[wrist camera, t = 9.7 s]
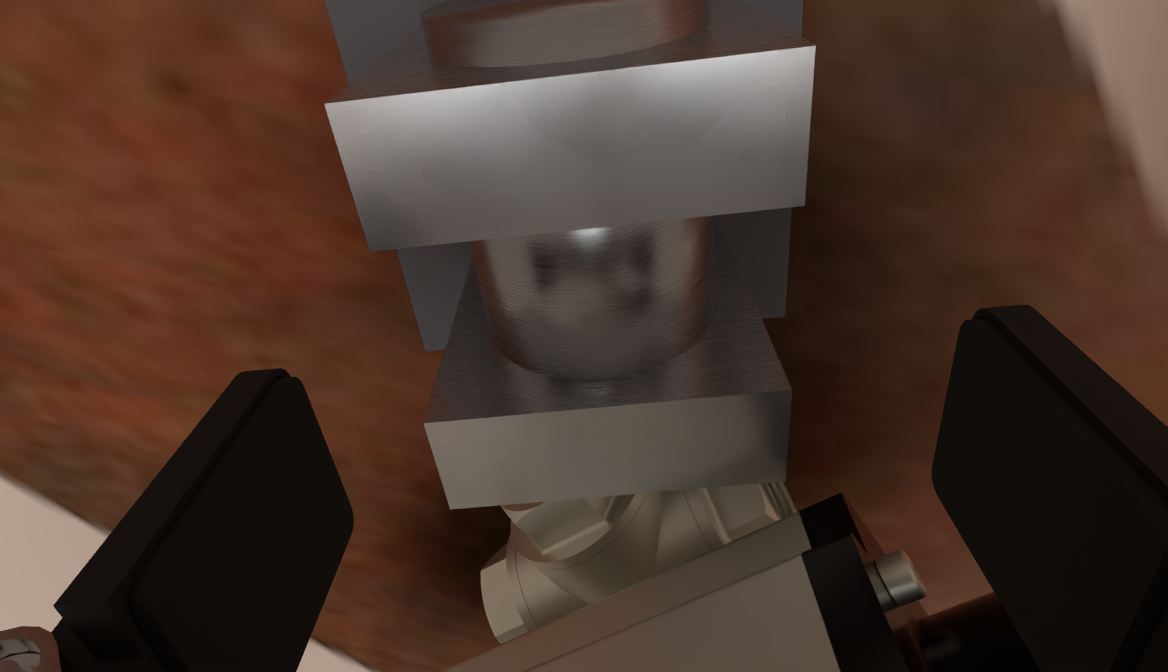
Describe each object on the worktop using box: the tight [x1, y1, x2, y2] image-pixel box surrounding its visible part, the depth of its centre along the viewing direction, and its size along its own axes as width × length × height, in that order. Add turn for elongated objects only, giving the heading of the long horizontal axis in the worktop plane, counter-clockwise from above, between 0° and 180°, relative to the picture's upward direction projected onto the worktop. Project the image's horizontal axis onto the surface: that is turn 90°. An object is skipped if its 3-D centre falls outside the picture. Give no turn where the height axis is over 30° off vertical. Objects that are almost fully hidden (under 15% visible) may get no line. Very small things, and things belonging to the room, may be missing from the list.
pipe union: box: [324, 0, 816, 509], centre depth 14 cm, size 9×6×6 cm
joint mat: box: [325, 0, 804, 352], centre depth 16 cm, size 10×10×1 cm
